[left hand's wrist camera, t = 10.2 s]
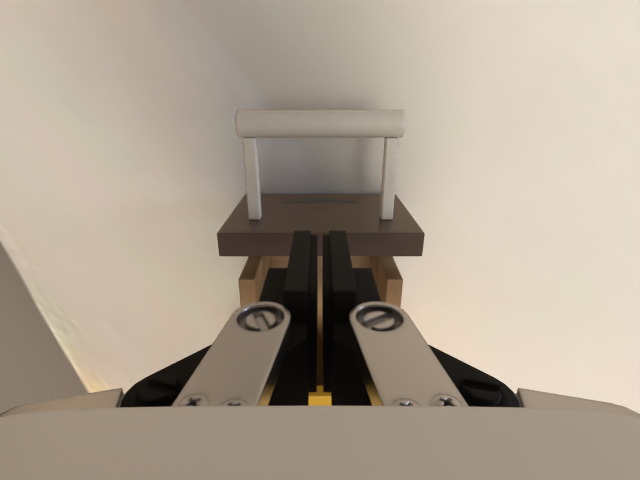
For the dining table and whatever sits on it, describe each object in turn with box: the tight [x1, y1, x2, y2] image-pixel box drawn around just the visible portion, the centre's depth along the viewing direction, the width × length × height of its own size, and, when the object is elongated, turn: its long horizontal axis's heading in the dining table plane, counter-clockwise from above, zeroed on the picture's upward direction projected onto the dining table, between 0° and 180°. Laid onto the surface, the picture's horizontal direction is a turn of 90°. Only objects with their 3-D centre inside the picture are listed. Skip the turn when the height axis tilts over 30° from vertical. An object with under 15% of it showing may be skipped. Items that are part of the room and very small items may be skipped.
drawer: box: [217, 110, 424, 385], centre depth 23 cm, size 22×10×7 cm, turn 0°
